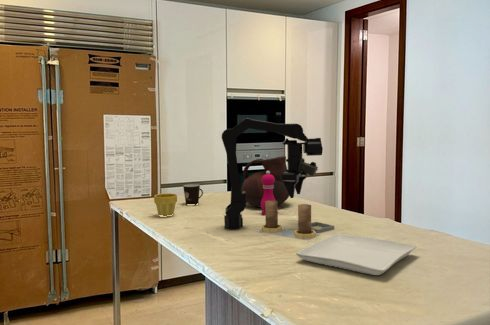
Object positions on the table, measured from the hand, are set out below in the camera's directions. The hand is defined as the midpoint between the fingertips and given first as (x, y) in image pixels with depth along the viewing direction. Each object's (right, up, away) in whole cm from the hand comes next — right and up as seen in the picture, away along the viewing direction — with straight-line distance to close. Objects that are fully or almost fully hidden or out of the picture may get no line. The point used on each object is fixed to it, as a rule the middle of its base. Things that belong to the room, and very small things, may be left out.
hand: (295, 196), depth 168 cm
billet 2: (+2, -13, -14) cm, 19 cm away
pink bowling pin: (-9, -11, +29) cm, 33 cm away
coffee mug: (-47, -9, +56) cm, 73 cm away
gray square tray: (+8, -13, -4) cm, 16 cm away
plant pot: (-56, -12, +30) cm, 64 cm away
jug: (-9, -9, +49) cm, 51 cm away
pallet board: (-4, -14, -9) cm, 17 cm away
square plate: (+14, -17, -37) cm, 43 cm away
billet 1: (-10, -13, -5) cm, 17 cm away
